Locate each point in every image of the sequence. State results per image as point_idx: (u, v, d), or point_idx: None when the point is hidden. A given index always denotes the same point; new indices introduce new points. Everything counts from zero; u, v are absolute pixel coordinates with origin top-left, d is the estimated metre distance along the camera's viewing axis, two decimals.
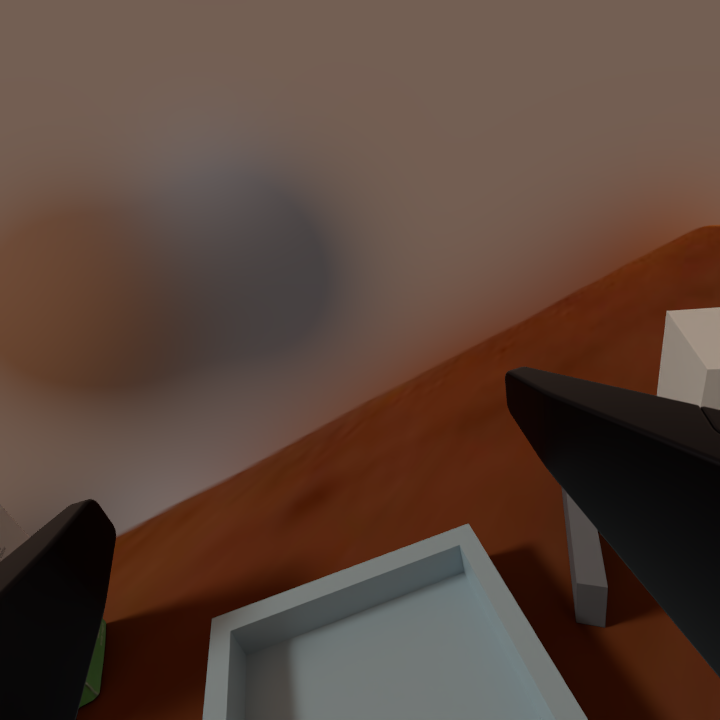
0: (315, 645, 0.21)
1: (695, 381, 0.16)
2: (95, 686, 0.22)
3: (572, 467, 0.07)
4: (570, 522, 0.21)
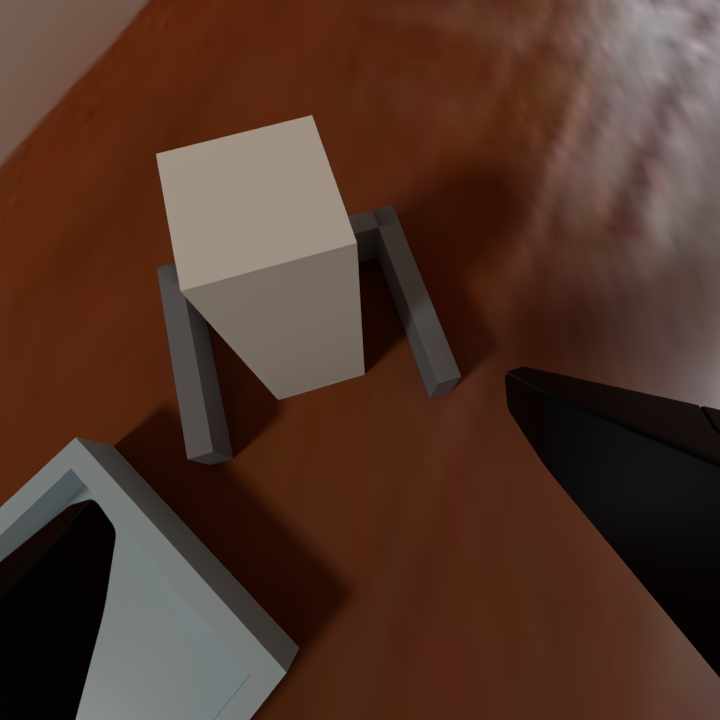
0: None
1: None
2: None
3: (572, 467, 0.07)
4: (177, 392, 0.20)
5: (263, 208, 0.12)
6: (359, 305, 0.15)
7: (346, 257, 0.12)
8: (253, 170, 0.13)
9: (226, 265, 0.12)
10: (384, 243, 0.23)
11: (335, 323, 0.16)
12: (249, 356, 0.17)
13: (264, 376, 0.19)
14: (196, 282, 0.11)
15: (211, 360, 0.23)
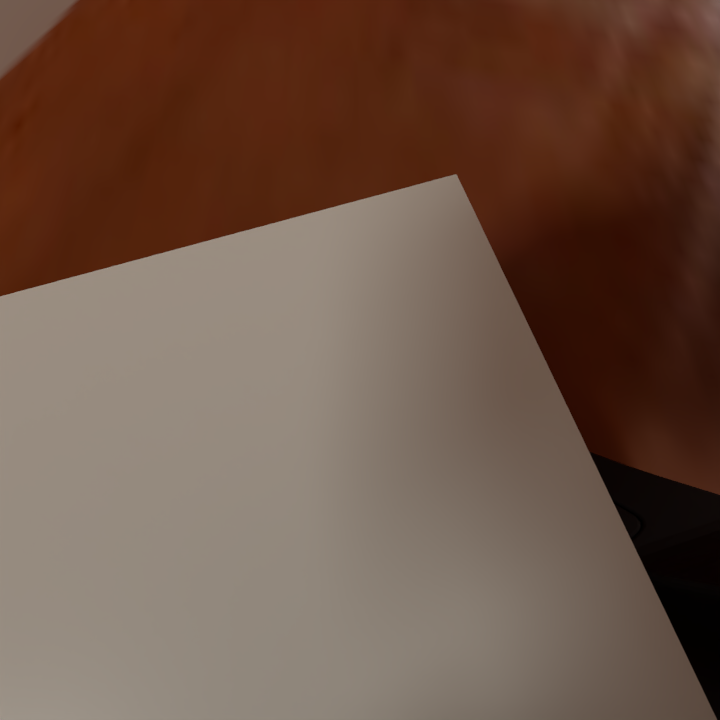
0: None
1: None
2: None
3: None
4: None
5: (302, 610, 0.03)
6: None
7: None
8: (256, 404, 0.03)
9: None
10: None
11: None
12: None
13: None
14: None
15: None
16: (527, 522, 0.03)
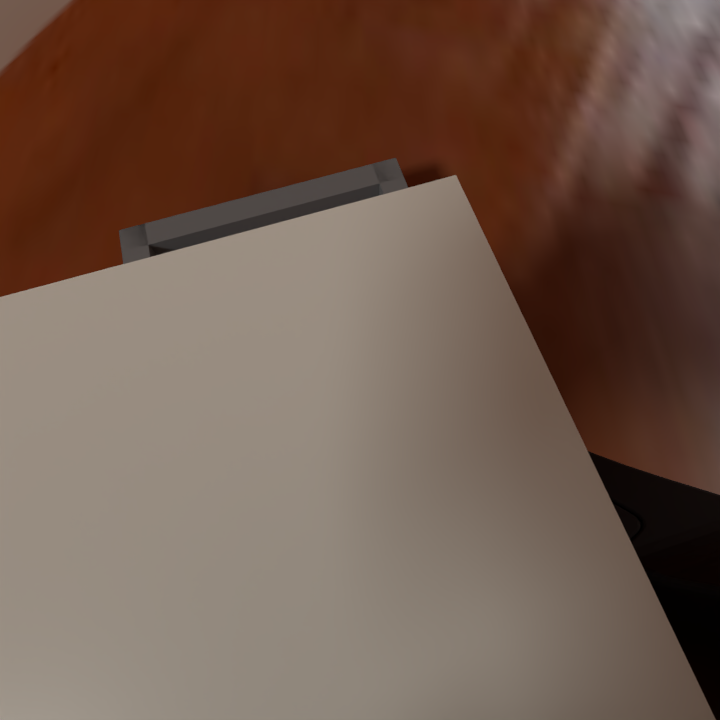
0: None
1: None
2: None
3: None
4: None
5: (300, 610, 0.03)
6: None
7: None
8: (256, 404, 0.03)
9: None
10: None
11: None
12: None
13: None
14: None
15: None
16: (526, 522, 0.03)
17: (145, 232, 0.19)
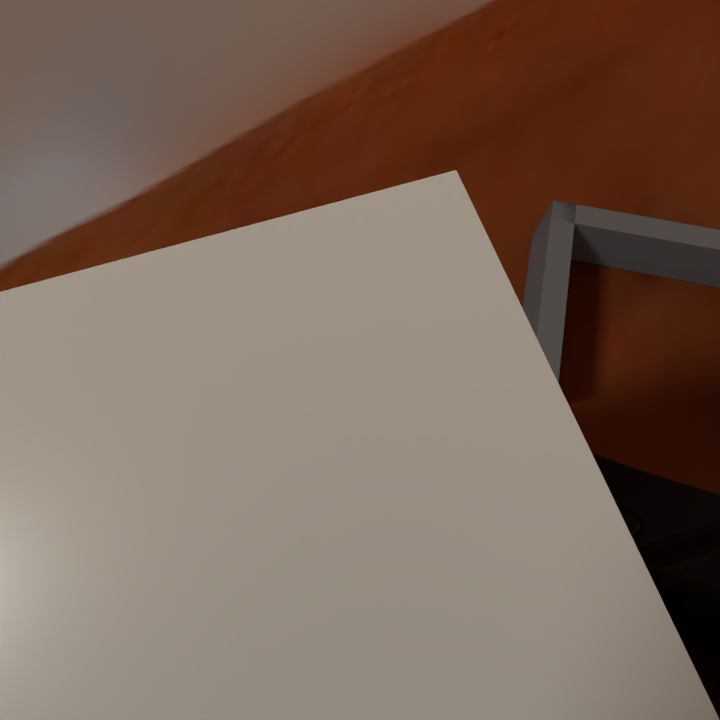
0: None
1: None
2: None
3: None
4: (538, 323, 0.20)
5: (302, 605, 0.03)
6: None
7: None
8: (256, 399, 0.03)
9: None
10: None
11: None
12: None
13: None
14: None
15: None
16: (527, 517, 0.03)
17: (574, 212, 0.22)
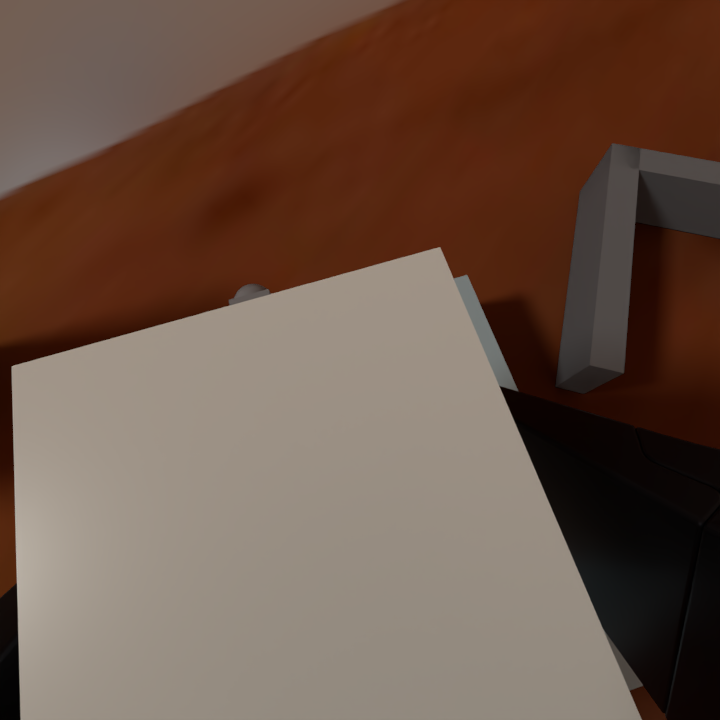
0: None
1: None
2: None
3: None
4: (598, 286, 0.16)
5: (324, 581, 0.04)
6: None
7: None
8: (287, 430, 0.04)
9: None
10: None
11: None
12: None
13: None
14: None
15: None
16: (487, 518, 0.04)
17: (639, 157, 0.18)
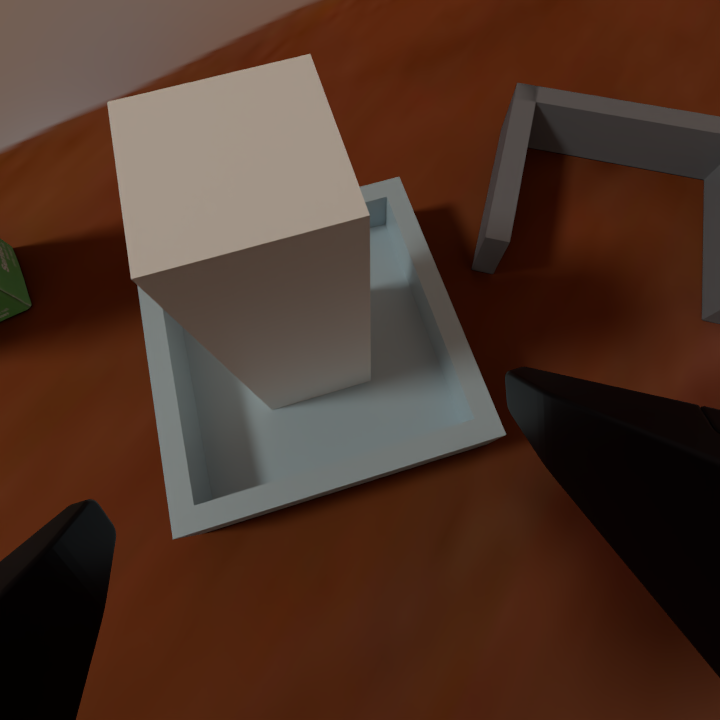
0: None
1: None
2: (24, 299, 0.23)
3: (572, 467, 0.07)
4: (496, 184, 0.21)
5: (245, 170, 0.09)
6: (369, 300, 0.12)
7: (355, 236, 0.09)
8: (233, 122, 0.10)
9: (194, 244, 0.09)
10: None
11: (339, 322, 0.13)
12: (234, 362, 0.14)
13: (254, 385, 0.16)
14: (152, 266, 0.08)
15: None
16: (316, 149, 0.09)
17: (536, 92, 0.23)
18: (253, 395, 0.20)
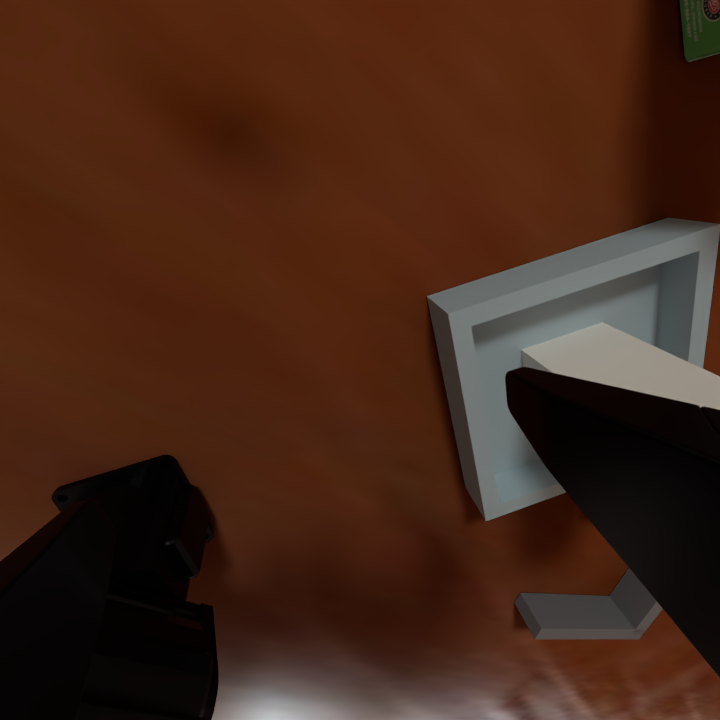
0: (645, 308, 0.24)
1: None
2: (699, 58, 0.19)
3: (572, 467, 0.07)
4: None
5: None
6: None
7: None
8: None
9: None
10: (624, 628, 0.34)
11: None
12: None
13: None
14: None
15: None
16: None
17: None
18: (536, 333, 0.23)
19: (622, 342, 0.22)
